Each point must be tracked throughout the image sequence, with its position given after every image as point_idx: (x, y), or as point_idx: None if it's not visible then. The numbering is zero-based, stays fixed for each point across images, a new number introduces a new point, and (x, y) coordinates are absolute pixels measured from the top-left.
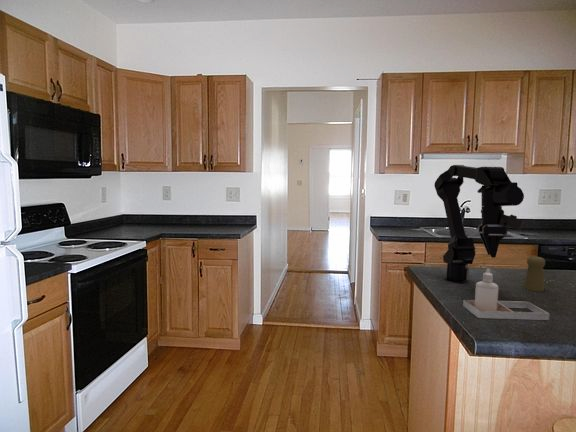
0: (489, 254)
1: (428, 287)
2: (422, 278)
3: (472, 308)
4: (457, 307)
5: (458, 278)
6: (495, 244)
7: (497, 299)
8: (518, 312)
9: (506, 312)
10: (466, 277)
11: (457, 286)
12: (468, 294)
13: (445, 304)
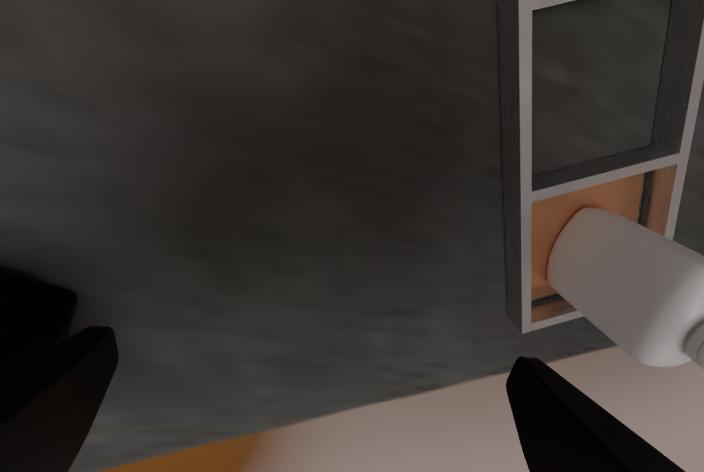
0: (117, 352)
1: (267, 429)
2: (96, 461)
3: None
4: (526, 334)
5: (44, 330)
6: None
7: (663, 236)
8: (689, 133)
9: (681, 189)
10: (16, 293)
11: (177, 322)
12: (323, 282)
13: (496, 369)
